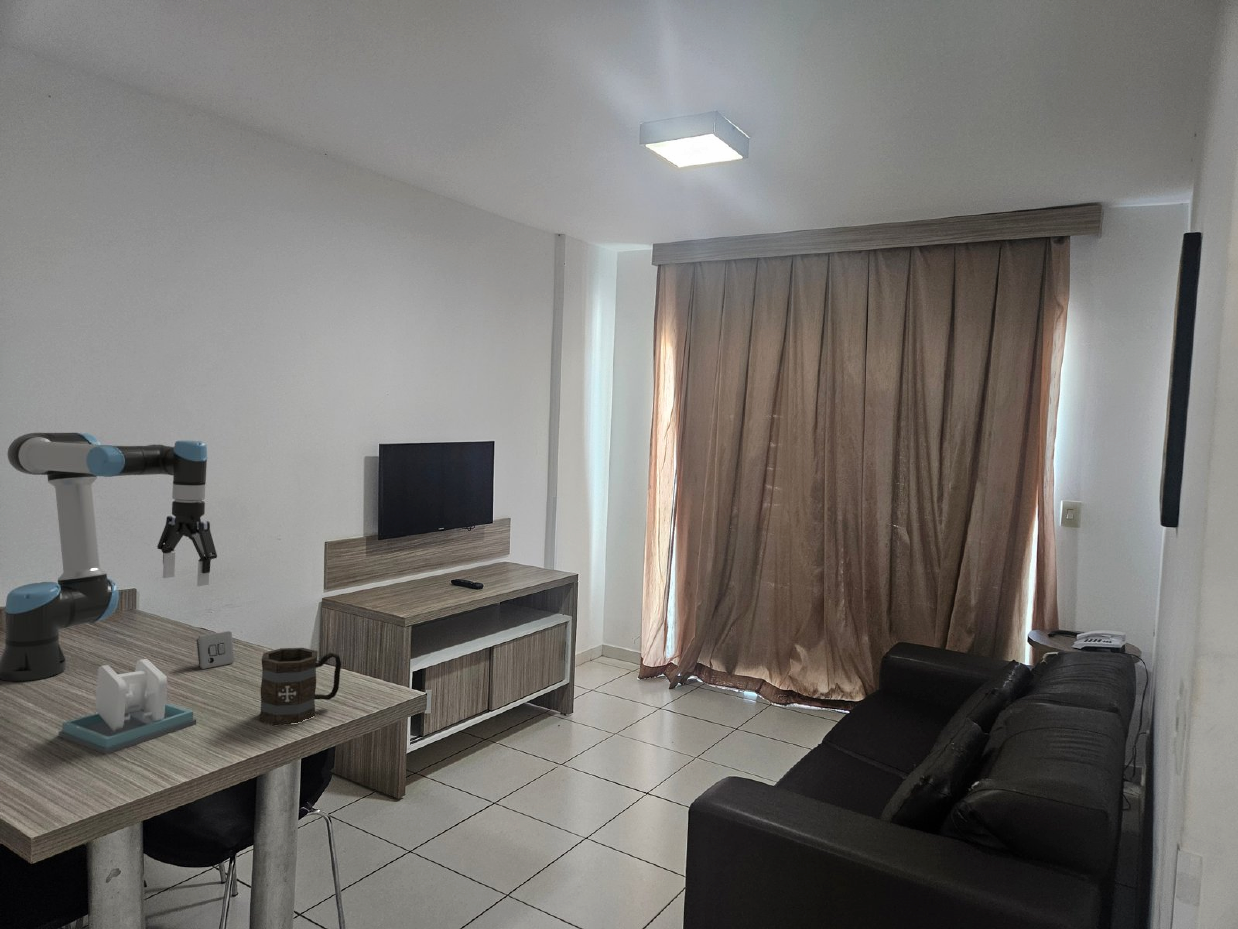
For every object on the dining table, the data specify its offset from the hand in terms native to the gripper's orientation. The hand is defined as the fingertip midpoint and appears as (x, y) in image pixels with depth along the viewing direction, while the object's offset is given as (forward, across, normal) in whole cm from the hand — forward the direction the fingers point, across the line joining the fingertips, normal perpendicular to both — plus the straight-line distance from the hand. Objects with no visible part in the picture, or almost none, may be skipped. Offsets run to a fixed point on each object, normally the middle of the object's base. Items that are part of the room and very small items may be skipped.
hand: (185, 581), depth 212 cm
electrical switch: (+29, +10, -17) cm, 35 cm away
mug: (+28, -38, -5) cm, 48 cm away
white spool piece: (+26, -15, +24) cm, 38 cm away
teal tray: (+28, -16, +24) cm, 40 cm away
